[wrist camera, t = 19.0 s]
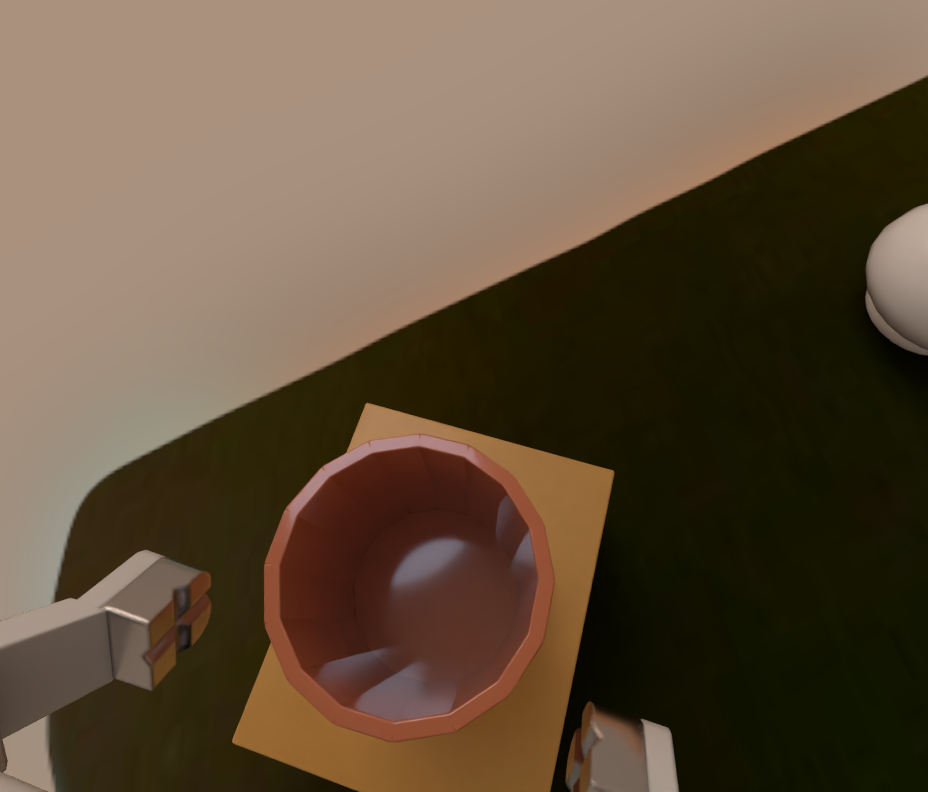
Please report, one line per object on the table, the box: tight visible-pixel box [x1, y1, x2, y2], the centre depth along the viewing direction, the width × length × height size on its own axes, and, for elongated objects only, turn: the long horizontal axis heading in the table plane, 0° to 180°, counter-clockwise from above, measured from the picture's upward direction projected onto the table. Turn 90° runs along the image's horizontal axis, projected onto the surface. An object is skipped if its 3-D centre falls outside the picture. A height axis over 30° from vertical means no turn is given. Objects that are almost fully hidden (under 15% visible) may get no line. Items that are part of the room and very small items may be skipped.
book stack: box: [232, 403, 614, 792], centre depth 23 cm, size 11×13×9 cm
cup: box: [264, 433, 555, 743], centre depth 15 cm, size 6×6×8 cm
